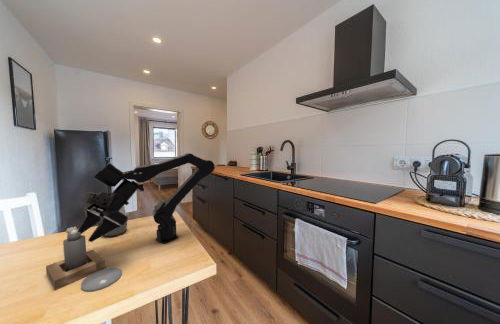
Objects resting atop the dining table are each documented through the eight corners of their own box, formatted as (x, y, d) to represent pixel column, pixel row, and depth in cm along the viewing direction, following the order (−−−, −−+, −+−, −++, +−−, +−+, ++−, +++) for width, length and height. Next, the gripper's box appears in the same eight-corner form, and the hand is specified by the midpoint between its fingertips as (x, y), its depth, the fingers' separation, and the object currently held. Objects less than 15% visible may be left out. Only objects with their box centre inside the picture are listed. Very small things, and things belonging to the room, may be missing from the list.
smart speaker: (132, 229, 85) (131, 199, 84) (113, 239, 76) (111, 205, 75) (116, 227, 87) (114, 198, 86) (95, 236, 78) (93, 204, 77)
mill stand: (93, 256, 64) (92, 249, 64) (105, 267, 58) (105, 260, 57) (46, 274, 55) (45, 266, 55) (55, 290, 49) (54, 280, 48)
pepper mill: (84, 264, 59) (81, 225, 59) (89, 269, 57) (86, 229, 56) (63, 272, 56) (60, 231, 55) (68, 278, 53) (64, 235, 52)
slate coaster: (114, 265, 59) (114, 263, 59) (127, 276, 54) (127, 274, 54) (76, 282, 51) (76, 280, 51) (87, 297, 46) (87, 294, 46)
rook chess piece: (71, 252, 66) (69, 231, 66) (61, 251, 67) (59, 230, 66) (84, 246, 71) (83, 225, 70) (75, 245, 71) (73, 225, 71)
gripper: (89, 179, 66) (46, 219, 57) (115, 184, 56) (67, 233, 47) (116, 196, 73) (81, 234, 64) (142, 203, 63) (105, 249, 55)
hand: (83, 237), depth 58 cm, fingers open, 9 cm apart
